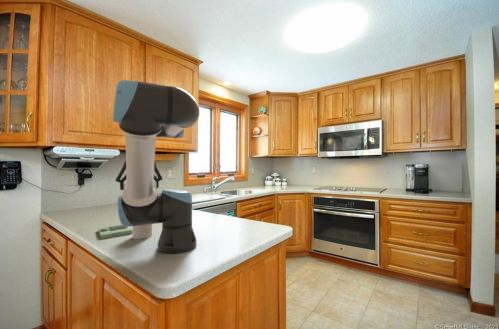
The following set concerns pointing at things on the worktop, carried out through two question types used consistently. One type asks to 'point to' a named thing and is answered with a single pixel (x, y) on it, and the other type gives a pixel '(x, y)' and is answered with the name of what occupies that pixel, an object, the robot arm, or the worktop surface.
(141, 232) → the cup
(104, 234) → the deck
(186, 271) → the worktop surface
